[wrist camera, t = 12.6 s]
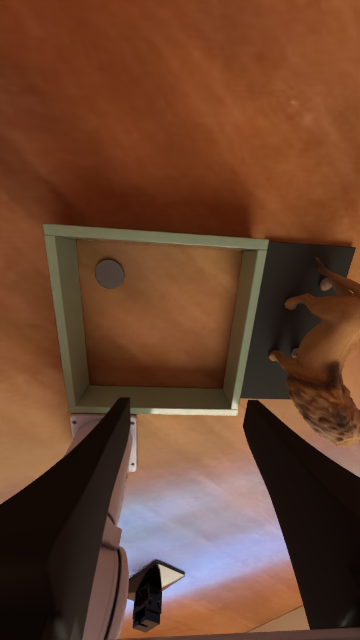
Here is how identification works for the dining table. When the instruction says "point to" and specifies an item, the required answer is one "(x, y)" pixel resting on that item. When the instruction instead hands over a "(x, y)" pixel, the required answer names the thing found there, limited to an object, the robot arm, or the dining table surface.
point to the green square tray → (112, 276)
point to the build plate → (150, 593)
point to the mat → (286, 310)
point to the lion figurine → (326, 360)
